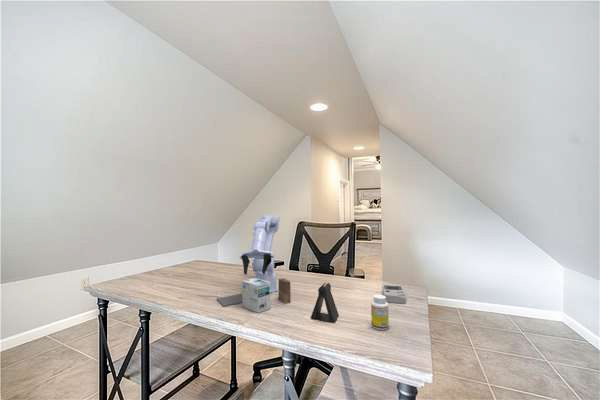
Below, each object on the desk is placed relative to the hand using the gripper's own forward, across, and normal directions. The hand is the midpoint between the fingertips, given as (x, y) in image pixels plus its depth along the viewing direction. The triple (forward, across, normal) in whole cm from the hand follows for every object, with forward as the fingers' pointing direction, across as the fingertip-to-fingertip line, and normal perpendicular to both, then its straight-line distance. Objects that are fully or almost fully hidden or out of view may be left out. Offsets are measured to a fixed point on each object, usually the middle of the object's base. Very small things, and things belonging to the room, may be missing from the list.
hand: (254, 273), depth 108 cm
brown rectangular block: (+6, +10, +15) cm, 19 cm away
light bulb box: (+11, 0, +9) cm, 14 cm away
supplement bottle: (+21, +46, 0) cm, 51 cm away
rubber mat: (+6, -12, +14) cm, 19 cm away
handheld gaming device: (+2, +58, +24) cm, 63 cm away
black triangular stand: (+17, +28, +4) cm, 33 cm away
